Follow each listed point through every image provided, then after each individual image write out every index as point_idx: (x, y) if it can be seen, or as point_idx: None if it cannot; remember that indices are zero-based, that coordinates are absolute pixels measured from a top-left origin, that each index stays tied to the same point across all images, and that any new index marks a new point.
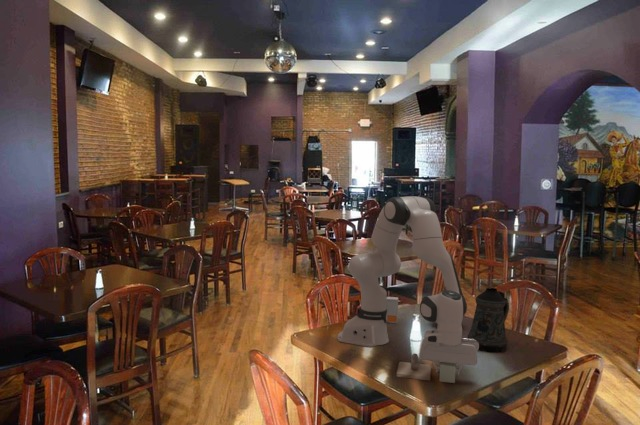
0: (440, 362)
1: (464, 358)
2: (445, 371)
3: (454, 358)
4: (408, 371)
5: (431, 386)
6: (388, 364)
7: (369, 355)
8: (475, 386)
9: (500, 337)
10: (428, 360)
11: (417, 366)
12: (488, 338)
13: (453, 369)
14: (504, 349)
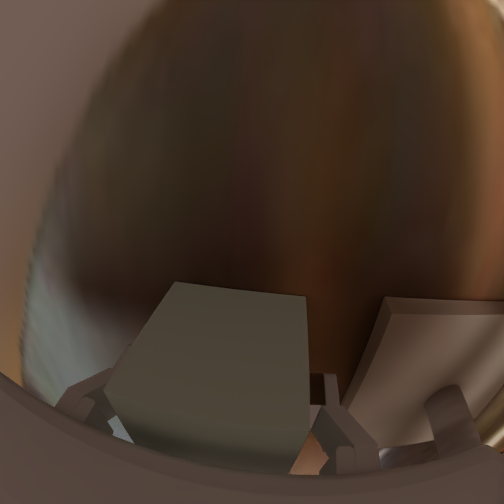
0: (289, 467)
1: (3, 439)
2: (241, 363)
3: (92, 487)
4: (489, 360)
5: (395, 173)
6: (493, 406)
7: (500, 431)
8: (56, 250)
9: None
10: (435, 460)
11: (435, 414)
12: None
13: (139, 370)
14: None
